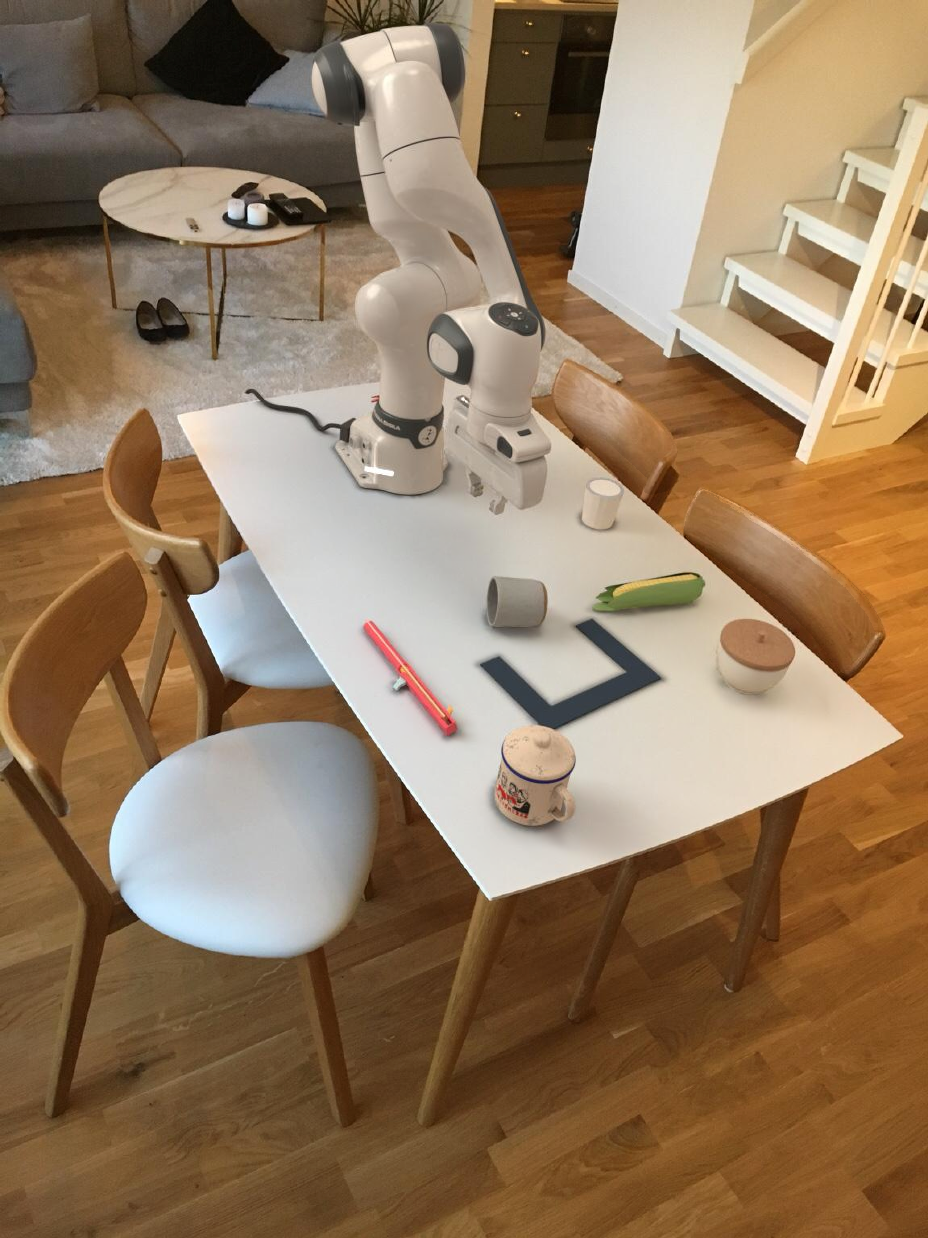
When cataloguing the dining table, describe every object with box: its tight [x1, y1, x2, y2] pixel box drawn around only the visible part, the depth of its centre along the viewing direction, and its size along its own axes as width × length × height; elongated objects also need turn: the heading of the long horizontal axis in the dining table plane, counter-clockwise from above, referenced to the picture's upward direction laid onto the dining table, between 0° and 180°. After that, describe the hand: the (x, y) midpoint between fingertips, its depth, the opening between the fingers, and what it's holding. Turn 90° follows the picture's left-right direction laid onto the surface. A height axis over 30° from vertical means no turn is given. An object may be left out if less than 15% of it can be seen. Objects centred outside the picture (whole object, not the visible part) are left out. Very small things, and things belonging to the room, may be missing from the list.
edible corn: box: [591, 571, 706, 611], centre depth 160 cm, size 5×20×5 cm, turn 110°
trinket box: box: [715, 618, 796, 696], centre depth 146 cm, size 11×11×9 cm
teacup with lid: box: [494, 724, 577, 827], centre depth 122 cm, size 12×9×12 cm
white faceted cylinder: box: [581, 477, 625, 530], centre depth 177 cm, size 7×7×7 cm
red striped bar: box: [363, 618, 458, 737], centre depth 140 cm, size 24×2×5 cm
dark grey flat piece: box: [479, 618, 662, 730], centre depth 146 cm, size 16×22×1 cm
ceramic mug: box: [486, 575, 549, 628], centre depth 153 cm, size 11×8×8 cm
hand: (485, 503), depth 151 cm, fingers open, 4 cm apart
